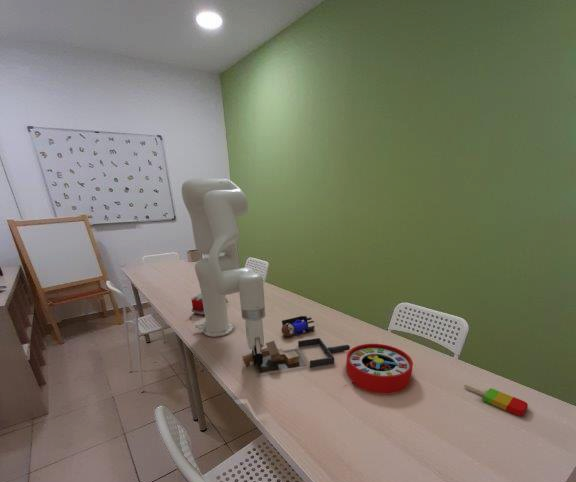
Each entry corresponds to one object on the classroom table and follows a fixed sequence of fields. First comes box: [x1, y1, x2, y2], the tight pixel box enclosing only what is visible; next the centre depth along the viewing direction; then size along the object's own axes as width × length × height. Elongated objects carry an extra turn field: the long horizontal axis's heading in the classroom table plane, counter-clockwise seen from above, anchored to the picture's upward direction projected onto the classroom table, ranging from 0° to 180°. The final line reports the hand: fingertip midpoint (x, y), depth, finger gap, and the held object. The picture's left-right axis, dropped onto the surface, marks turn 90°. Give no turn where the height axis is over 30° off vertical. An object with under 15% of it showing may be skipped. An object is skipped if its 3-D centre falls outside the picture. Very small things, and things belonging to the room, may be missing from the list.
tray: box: [256, 348, 307, 374], centre depth 105 cm, size 16×12×1 cm
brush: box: [241, 340, 281, 367], centre depth 102 cm, size 12×9×3 cm
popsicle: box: [463, 384, 529, 417], centre depth 84 cm, size 6×15×2 cm, turn 42°
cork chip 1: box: [277, 348, 284, 361], centre depth 106 cm, size 4×4×2 cm
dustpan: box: [297, 337, 351, 368], centre depth 108 cm, size 18×15×3 cm
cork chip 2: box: [284, 351, 299, 365], centre depth 103 cm, size 4×4×2 cm
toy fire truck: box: [190, 293, 229, 315], centre depth 151 cm, size 9×19×10 cm, turn 148°
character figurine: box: [281, 315, 316, 337], centre depth 123 cm, size 8×7×15 cm
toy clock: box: [345, 343, 414, 395], centre depth 96 cm, size 20×6×20 cm
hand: (257, 361), depth 102 cm, fingers closed on brush, 2 cm apart
